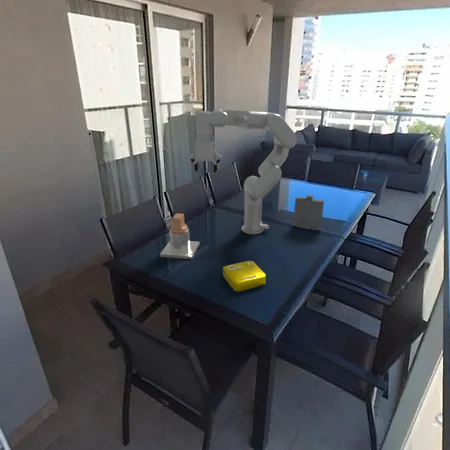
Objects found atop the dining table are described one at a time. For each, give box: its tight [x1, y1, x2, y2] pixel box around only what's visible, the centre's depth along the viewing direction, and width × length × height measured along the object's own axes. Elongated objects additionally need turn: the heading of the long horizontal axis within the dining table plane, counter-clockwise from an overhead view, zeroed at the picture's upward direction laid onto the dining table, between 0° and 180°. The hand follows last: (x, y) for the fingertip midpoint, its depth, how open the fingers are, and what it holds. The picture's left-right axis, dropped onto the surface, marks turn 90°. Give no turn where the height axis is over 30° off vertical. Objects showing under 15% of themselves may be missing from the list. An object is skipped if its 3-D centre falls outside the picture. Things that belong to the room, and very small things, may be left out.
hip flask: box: [292, 194, 325, 231], centre depth 183 cm, size 16×4×20 cm, turn 65°
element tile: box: [222, 260, 267, 292], centre depth 139 cm, size 15×15×5 cm
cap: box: [170, 213, 189, 234], centre depth 158 cm, size 8×8×10 cm
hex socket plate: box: [159, 228, 201, 260], centre depth 161 cm, size 16×16×12 cm
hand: (206, 171), depth 165 cm, fingers open, 9 cm apart
